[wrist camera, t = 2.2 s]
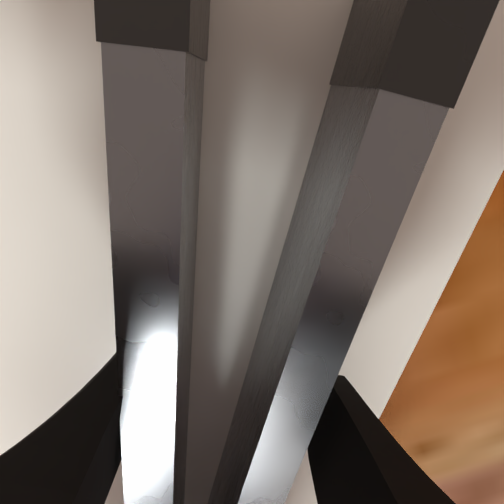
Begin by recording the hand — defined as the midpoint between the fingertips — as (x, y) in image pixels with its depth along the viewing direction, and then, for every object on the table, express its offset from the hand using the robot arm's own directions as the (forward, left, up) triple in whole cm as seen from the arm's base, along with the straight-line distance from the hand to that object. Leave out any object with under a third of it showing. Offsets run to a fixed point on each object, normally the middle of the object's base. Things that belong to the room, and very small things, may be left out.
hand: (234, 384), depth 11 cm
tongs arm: (+1, +2, -1) cm, 3 cm away
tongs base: (0, 0, -1) cm, 1 cm away
